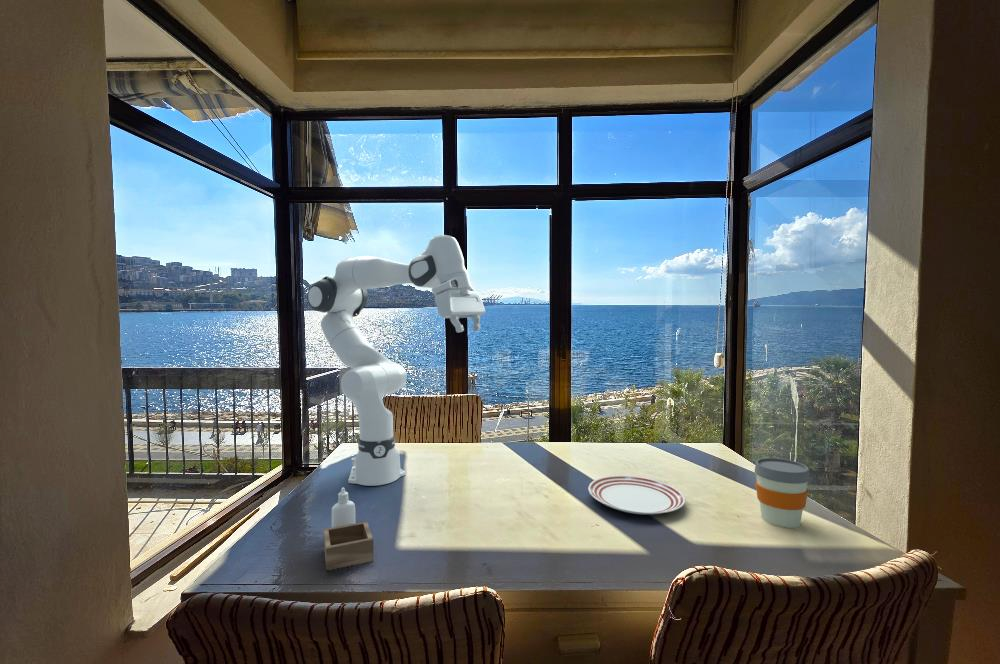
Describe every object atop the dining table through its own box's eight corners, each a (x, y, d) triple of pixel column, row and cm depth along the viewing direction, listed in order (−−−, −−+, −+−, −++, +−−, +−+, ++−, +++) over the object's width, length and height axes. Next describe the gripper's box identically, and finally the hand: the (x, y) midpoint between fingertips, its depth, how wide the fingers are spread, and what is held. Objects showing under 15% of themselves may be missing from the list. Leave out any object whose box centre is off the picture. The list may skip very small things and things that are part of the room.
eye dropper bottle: (334, 531, 119) (333, 485, 118) (356, 529, 120) (355, 484, 119) (330, 539, 115) (329, 492, 114) (354, 537, 116) (353, 490, 115)
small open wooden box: (324, 549, 110) (323, 529, 110) (367, 541, 114) (367, 521, 114) (326, 571, 101) (326, 548, 100) (373, 560, 105) (373, 539, 104)
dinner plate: (687, 492, 143) (687, 482, 143) (682, 530, 119) (682, 518, 119) (599, 479, 155) (599, 470, 155) (577, 512, 130) (577, 500, 130)
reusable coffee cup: (790, 535, 115) (791, 476, 115) (743, 515, 126) (744, 461, 126) (818, 524, 121) (820, 467, 121) (771, 506, 132) (772, 454, 132)
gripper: (466, 291, 148) (478, 332, 146) (427, 289, 130) (441, 336, 128) (482, 284, 145) (495, 326, 144) (445, 281, 127) (458, 329, 126)
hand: (469, 331), depth 136 cm, fingers open, 8 cm apart
